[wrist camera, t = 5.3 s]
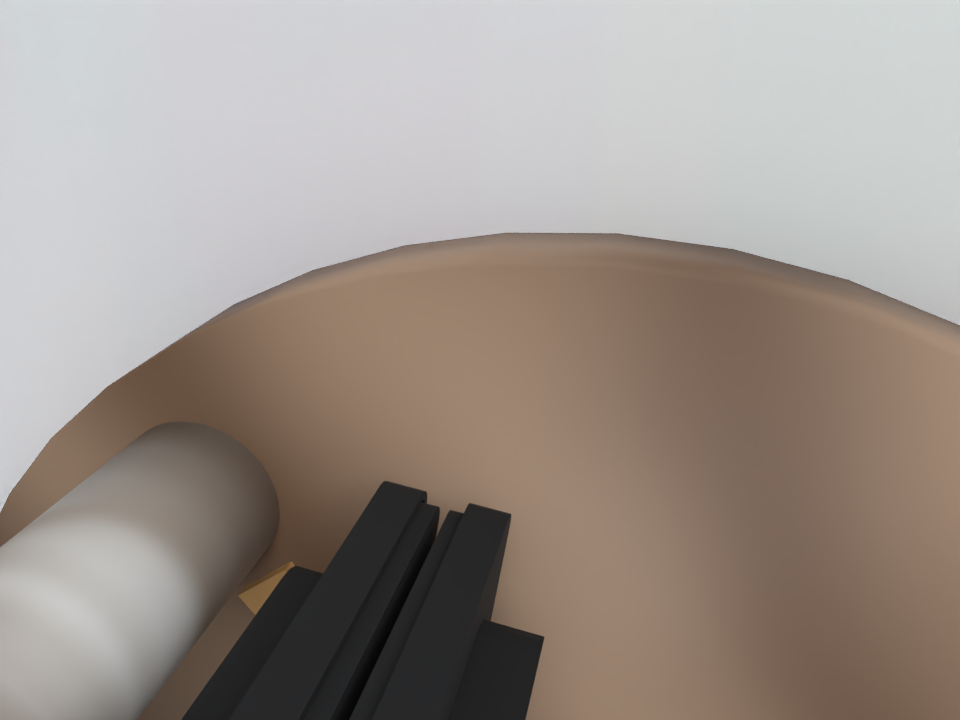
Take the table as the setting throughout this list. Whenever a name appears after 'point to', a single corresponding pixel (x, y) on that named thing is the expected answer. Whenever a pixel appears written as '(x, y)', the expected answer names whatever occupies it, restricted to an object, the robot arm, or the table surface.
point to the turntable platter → (524, 481)
